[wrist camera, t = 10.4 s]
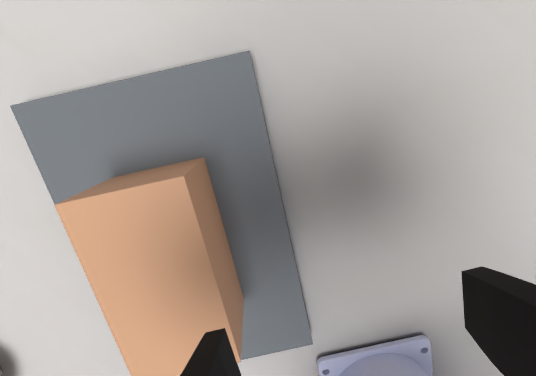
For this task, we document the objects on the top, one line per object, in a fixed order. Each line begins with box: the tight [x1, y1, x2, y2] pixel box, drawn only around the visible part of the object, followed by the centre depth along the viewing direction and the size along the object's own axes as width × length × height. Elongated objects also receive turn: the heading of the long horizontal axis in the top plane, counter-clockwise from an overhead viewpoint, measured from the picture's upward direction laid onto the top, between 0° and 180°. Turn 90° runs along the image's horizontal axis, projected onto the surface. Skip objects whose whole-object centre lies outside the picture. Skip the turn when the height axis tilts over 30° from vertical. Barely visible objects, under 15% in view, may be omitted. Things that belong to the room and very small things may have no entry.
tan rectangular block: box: [55, 157, 244, 376], centre depth 14 cm, size 5×9×4 cm, turn 12°
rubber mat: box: [10, 51, 313, 360], centre depth 17 cm, size 18×12×1 cm, turn 12°
